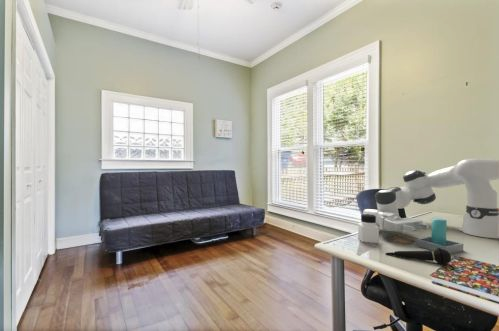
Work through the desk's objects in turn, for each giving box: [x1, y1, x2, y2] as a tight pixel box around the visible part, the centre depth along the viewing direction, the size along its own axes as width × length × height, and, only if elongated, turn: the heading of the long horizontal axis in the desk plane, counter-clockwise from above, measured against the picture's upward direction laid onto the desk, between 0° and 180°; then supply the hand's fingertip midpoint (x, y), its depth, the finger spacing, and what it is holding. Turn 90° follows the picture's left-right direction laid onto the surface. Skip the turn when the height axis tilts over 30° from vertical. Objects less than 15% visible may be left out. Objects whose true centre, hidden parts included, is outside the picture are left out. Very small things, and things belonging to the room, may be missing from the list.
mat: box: [388, 234, 419, 245], centre depth 113 cm, size 12×8×1 cm, turn 114°
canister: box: [430, 217, 448, 247], centre depth 102 cm, size 5×5×12 cm
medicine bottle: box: [357, 213, 380, 244], centre depth 112 cm, size 7×7×12 cm
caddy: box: [414, 236, 464, 255], centre depth 102 cm, size 12×12×3 cm
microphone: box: [385, 248, 452, 266], centre depth 89 cm, size 6×6×20 cm
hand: (421, 228), depth 108 cm, fingers open, 8 cm apart
